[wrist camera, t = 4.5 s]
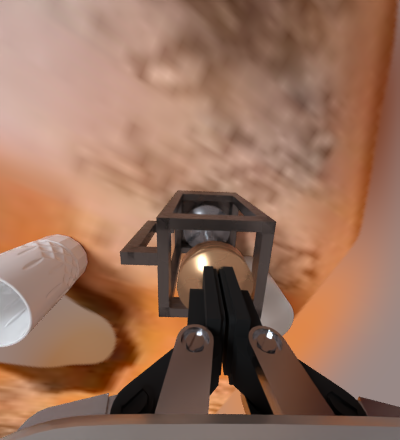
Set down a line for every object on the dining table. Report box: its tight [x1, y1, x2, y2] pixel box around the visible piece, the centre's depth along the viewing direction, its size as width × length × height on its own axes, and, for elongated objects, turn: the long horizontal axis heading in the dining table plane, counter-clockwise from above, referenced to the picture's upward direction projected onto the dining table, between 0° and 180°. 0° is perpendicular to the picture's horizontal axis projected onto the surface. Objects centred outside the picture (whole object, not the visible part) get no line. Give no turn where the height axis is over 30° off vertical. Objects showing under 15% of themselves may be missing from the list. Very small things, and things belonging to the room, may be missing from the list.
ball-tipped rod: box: [177, 205, 253, 308], centre depth 16 cm, size 5×5×11 cm
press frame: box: [120, 191, 276, 319], centre depth 18 cm, size 7×10×13 cm
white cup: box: [0, 234, 88, 347], centre depth 21 cm, size 8×8×10 cm
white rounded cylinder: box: [243, 256, 294, 336], centre depth 23 cm, size 6×6×8 cm
